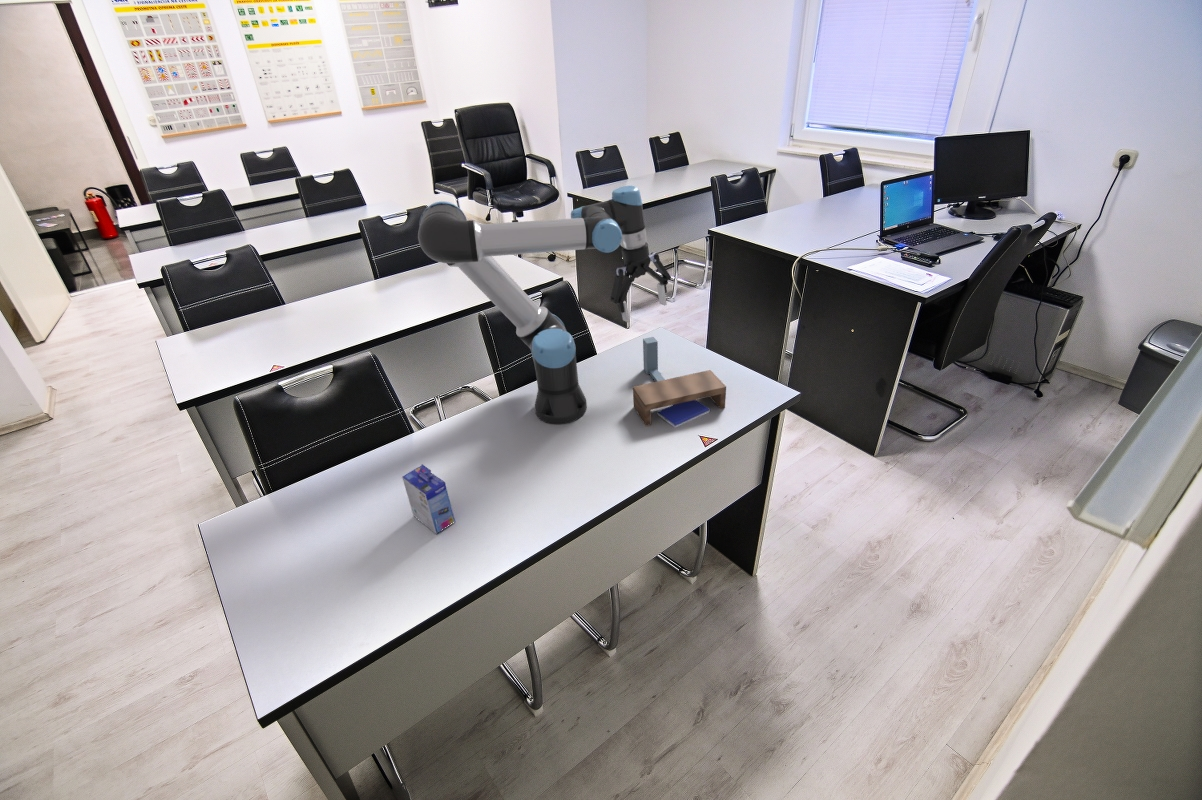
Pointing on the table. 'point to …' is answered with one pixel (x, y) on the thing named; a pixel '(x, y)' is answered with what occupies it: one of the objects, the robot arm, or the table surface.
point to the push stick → (651, 358)
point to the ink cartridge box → (428, 498)
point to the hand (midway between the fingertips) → (644, 312)
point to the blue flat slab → (683, 412)
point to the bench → (677, 392)
